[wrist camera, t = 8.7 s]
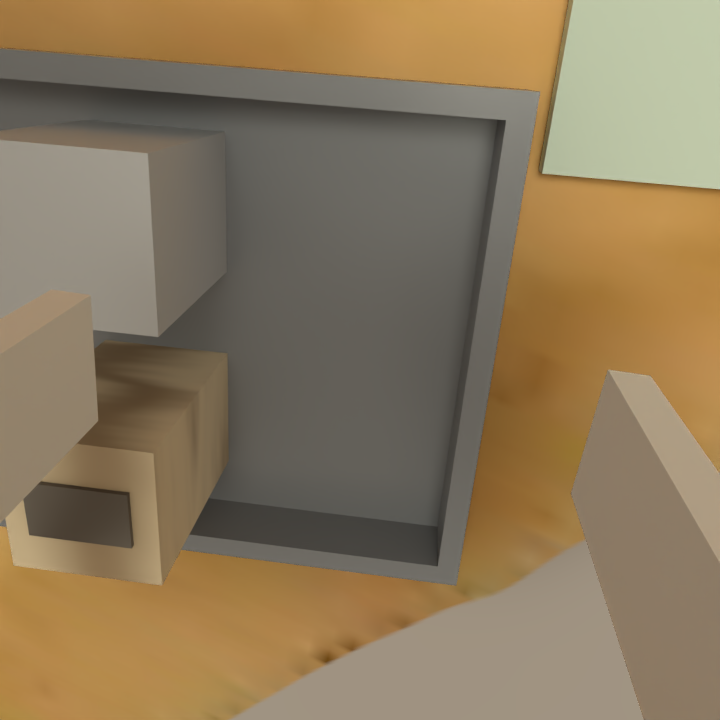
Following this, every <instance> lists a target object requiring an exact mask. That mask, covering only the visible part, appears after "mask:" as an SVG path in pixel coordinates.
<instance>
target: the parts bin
mask: <svg viewBox="0 0 720 720" xmlns="http://www.w3.org/2000/svg"><path fill="white" fill-rule="evenodd" d="M539 96H540V92H538V91H532V90H526V89H513V88H501V87H488V86H476V85H463V84H451V83H438V82H426V81H413V80H401V79H388V78H375V77H363V76H350V75H338V74H325V73H313V72H300V71H288V70H275V69H263V68H250V67H238V66H225V65H213V64H200V63H188V62H175V61H163V60H150V59H138V58H125V57H113V56H100V55H88V54H75V53H63V52H50V51H38V50H25V49H13V48H0V131H3V130H10V129H18V128H25V127H33V126H41V125H48V124H56V123H63V122H71V121H78V120H95V121H107V122H118V123H130V124H141V125H153V126H164V127H176V128H188V129H199V130H211V131H222V132H225V166H226V258H227V272H226V273H225V274H224V275H223V276H222V277H221V278H220V279H219V280H218V281H217V282H216V283H215V284H214V285H212V286H211V287H210V288H209V289H208V290H207V291H206V292H205V293H204V294H203V295H202V296H201V297H200V298H199V299H198V300H197V301H196V302H195V303H194V304H193V305H191V306H190V307H189V308H188V309H187V310H186V311H185V312H184V313H183V314H182V315H181V316H180V317H179V318H178V319H177V320H176V321H175V322H174V323H173V324H172V325H170V326H169V327H168V328H167V329H166V330H165V331H164V332H163V333H162V334H161V335H160V336H159V337H153V336H144V335H135V334H126V333H117V332H107V331H98V330H93V342H94V349H95V348H96V347H97V346H99V345H100V344H101V343H102V342H104V341H105V340H111V341H120V342H129V343H138V344H147V345H157V346H166V347H175V348H184V349H193V350H202V351H211V352H220V353H228V442H229V461H228V463H227V465H226V467H225V468H224V470H223V472H222V474H221V476H220V478H219V480H218V482H217V483H216V485H215V487H214V489H213V491H212V493H211V495H210V497H209V498H208V500H207V502H206V504H205V506H204V508H203V510H202V512H201V513H200V515H199V517H198V519H197V521H196V523H195V525H194V527H193V528H192V530H191V532H190V534H189V536H188V538H187V540H186V542H185V543H184V545H183V547H182V549H181V550H188V551H195V552H203V553H211V554H218V555H226V556H234V557H241V558H249V559H257V560H264V561H272V562H280V563H287V564H295V565H303V566H310V567H318V568H326V569H333V570H341V571H349V572H356V573H364V574H372V575H379V576H387V577H395V578H402V579H410V580H417V581H425V582H433V583H440V584H448V585H456V583H457V578H458V572H459V566H460V560H461V554H462V548H463V542H464V536H465V531H466V525H467V519H468V513H469V507H470V501H471V495H472V490H473V484H474V478H475V472H476V466H477V460H478V454H479V448H480V443H481V437H482V431H483V425H484V419H485V413H486V407H487V401H488V396H489V390H490V384H491V378H492V372H493V366H494V360H495V355H496V349H497V343H498V337H499V331H500V325H501V319H502V313H503V308H504V302H505V296H506V290H507V284H508V278H509V272H510V267H511V261H512V255H513V249H514V243H515V237H516V231H517V225H518V220H519V214H520V208H521V202H522V196H523V190H524V184H525V179H526V173H527V167H528V161H529V155H530V149H531V143H532V137H533V132H534V126H535V120H536V114H537V108H538V102H539ZM0 526H4V527H7V526H6V520H5V519H4V520H3V521H2V522H1V523H0Z"/></svg>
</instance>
